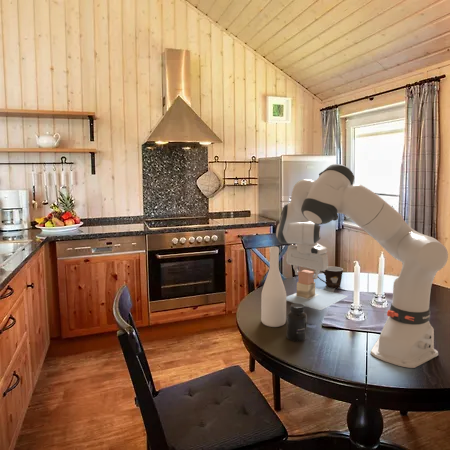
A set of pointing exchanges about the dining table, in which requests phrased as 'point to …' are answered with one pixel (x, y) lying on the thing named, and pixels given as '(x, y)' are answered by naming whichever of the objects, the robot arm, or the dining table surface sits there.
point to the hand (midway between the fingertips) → (306, 276)
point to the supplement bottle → (296, 323)
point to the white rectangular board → (317, 299)
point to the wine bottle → (273, 294)
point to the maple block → (306, 290)
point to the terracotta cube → (306, 277)
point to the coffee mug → (333, 277)
